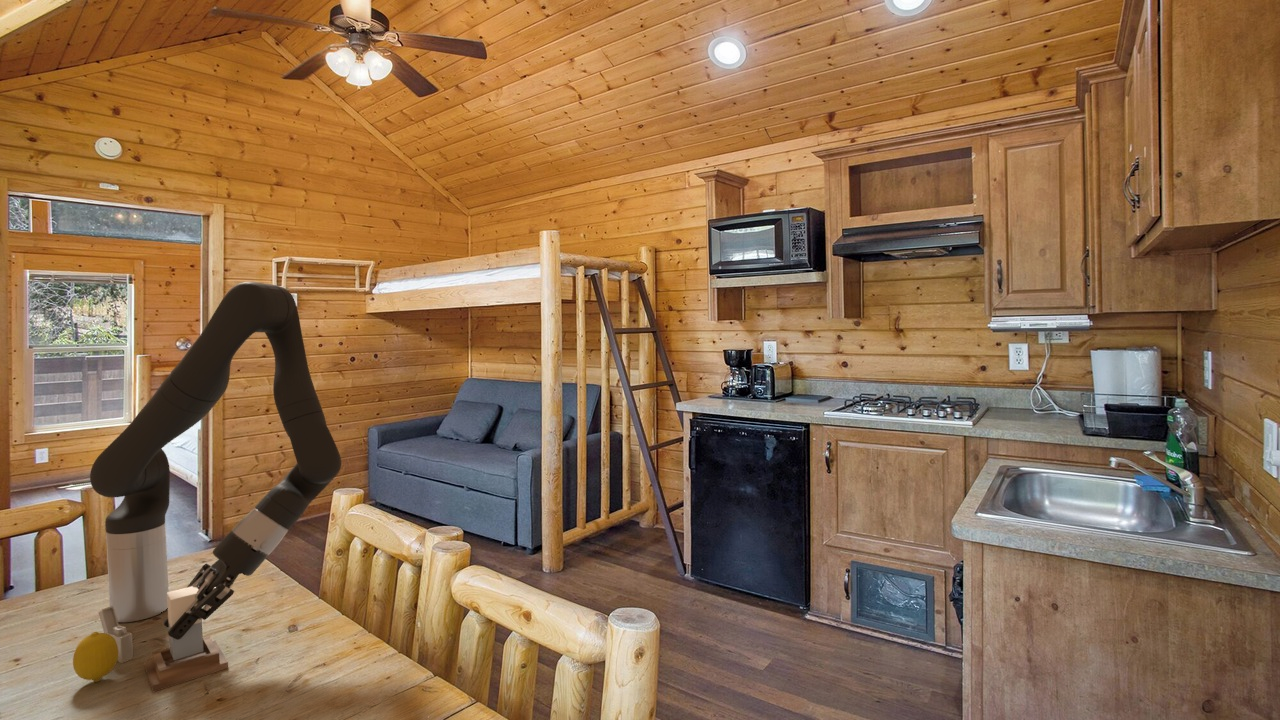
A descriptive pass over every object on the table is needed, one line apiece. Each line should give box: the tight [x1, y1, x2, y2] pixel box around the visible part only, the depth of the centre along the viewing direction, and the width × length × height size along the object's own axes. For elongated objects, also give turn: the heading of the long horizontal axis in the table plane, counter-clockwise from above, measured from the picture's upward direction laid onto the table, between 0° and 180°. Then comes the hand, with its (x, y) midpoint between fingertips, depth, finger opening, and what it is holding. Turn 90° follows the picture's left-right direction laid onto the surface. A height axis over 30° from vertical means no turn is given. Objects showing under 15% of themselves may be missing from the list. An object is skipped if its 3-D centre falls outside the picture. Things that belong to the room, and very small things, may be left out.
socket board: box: [143, 636, 229, 693], centre depth 106 cm, size 10×10×2 cm
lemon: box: [72, 631, 119, 683], centre depth 102 cm, size 6×6×8 cm
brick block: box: [167, 586, 204, 660], centre depth 106 cm, size 4×4×10 cm
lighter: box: [98, 606, 134, 664], centre depth 110 cm, size 7×2×8 cm, turn 63°
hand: (170, 631), depth 105 cm, fingers closed on brick block, 4 cm apart
